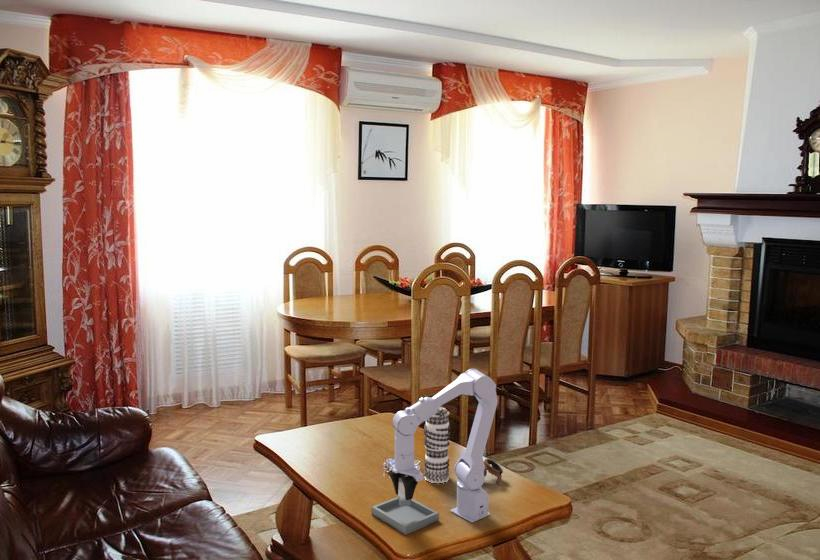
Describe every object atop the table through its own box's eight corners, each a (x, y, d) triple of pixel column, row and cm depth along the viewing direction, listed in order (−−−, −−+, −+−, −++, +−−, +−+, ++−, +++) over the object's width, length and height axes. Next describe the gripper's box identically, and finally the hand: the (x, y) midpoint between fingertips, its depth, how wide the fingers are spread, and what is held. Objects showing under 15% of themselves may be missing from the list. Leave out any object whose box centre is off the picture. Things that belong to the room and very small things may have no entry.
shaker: (414, 502, 200) (415, 476, 199) (405, 507, 197) (406, 481, 196) (403, 498, 202) (404, 473, 201) (395, 503, 199) (395, 477, 198)
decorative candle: (452, 474, 234) (453, 405, 231) (446, 486, 225) (447, 413, 222) (427, 471, 236) (427, 402, 233) (420, 482, 228) (420, 411, 224)
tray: (438, 520, 202) (438, 512, 201) (405, 535, 193) (405, 526, 193) (404, 501, 214) (404, 494, 213) (371, 514, 205) (371, 506, 205)
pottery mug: (476, 474, 236) (488, 455, 235) (496, 492, 232) (509, 472, 230) (461, 477, 226) (474, 458, 225) (482, 496, 221) (496, 476, 220)
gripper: (378, 448, 200) (378, 491, 202) (410, 463, 189) (409, 509, 191) (396, 442, 205) (396, 485, 207) (428, 457, 194) (428, 501, 196)
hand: (404, 496), depth 199 cm, fingers closed on shaker, 4 cm apart
